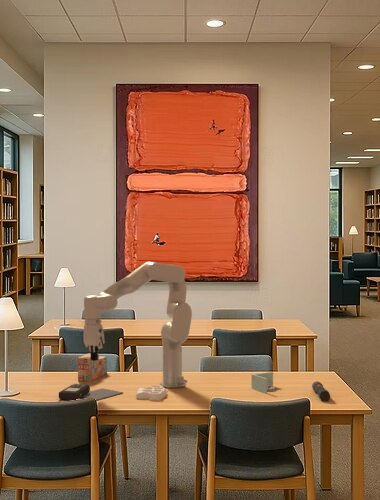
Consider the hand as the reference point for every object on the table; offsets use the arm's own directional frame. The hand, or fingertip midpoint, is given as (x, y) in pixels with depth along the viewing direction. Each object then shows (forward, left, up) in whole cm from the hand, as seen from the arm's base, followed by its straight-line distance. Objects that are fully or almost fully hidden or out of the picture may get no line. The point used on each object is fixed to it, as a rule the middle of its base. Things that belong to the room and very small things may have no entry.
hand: (94, 360), depth 353 cm
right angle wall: (-62, -57, -17) cm, 85 cm away
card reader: (+5, +3, -13) cm, 14 cm away
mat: (-4, +1, -16) cm, 16 cm away
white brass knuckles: (-25, -13, -17) cm, 33 cm away
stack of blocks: (+28, -26, -16) cm, 41 cm away
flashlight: (-88, -60, -17) cm, 108 cm away
